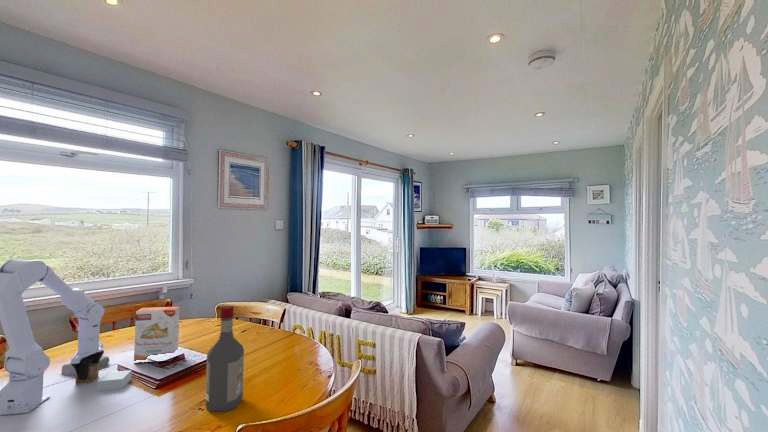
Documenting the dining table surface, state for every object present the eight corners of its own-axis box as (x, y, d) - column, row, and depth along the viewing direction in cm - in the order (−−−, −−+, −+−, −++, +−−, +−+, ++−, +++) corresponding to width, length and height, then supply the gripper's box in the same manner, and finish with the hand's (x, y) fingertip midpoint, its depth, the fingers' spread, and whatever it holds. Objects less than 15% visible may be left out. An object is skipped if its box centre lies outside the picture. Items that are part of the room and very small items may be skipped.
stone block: (57, 379, 124) (79, 376, 122) (56, 365, 124) (78, 363, 122) (91, 367, 135) (112, 364, 134) (90, 354, 136) (110, 352, 134)
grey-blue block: (122, 389, 114) (122, 378, 114) (97, 391, 112) (97, 381, 112) (131, 380, 121) (131, 370, 121) (107, 382, 119) (108, 372, 119)
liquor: (244, 396, 110) (247, 303, 111) (233, 412, 101) (236, 311, 102) (216, 396, 110) (218, 303, 111) (202, 412, 101) (205, 310, 102)
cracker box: (133, 364, 133) (135, 311, 133) (139, 358, 139) (141, 307, 139) (173, 361, 137) (175, 309, 137) (178, 355, 142) (179, 305, 143)
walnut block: (90, 382, 118) (91, 368, 118) (75, 383, 117) (76, 369, 117) (98, 377, 122) (98, 362, 122) (83, 378, 121) (84, 363, 121)
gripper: (89, 343, 114) (87, 384, 113) (113, 330, 128) (111, 366, 127) (64, 345, 112) (62, 386, 112) (91, 331, 126) (89, 368, 126)
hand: (87, 376), depth 119 cm, fingers closed on walnut block, 4 cm apart
